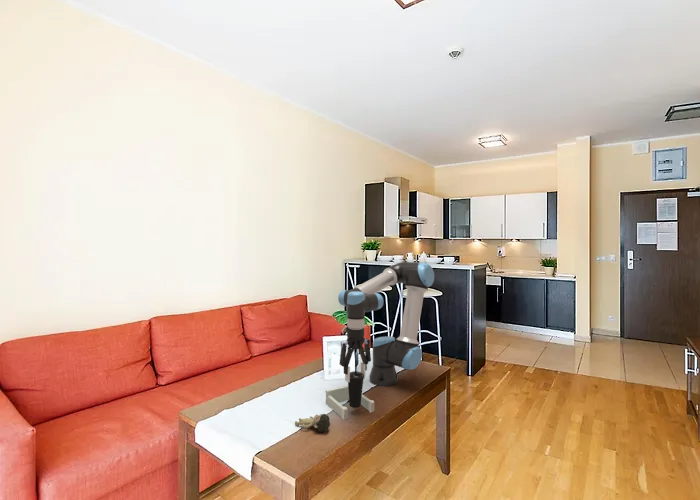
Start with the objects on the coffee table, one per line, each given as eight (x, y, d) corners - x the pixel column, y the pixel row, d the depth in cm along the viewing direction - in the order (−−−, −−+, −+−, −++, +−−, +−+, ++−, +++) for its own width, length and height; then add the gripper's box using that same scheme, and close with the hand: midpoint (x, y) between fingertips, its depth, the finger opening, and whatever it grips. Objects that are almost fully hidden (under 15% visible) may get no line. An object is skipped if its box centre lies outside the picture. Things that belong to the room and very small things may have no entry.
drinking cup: (362, 410, 160) (363, 364, 160) (344, 408, 162) (345, 362, 161) (365, 402, 168) (366, 358, 167) (348, 400, 169) (349, 356, 169)
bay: (354, 396, 181) (354, 384, 181) (374, 411, 166) (374, 398, 166) (325, 403, 174) (325, 390, 173) (343, 419, 158) (343, 405, 158)
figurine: (301, 410, 159) (332, 410, 152) (303, 425, 158) (334, 426, 152) (290, 418, 152) (322, 419, 145) (293, 434, 151) (325, 435, 145)
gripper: (370, 323, 171) (370, 372, 172) (331, 328, 162) (330, 380, 163) (379, 326, 165) (379, 378, 166) (339, 332, 155) (338, 386, 156)
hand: (355, 379), depth 164 cm, fingers closed on drinking cup, 7 cm apart
